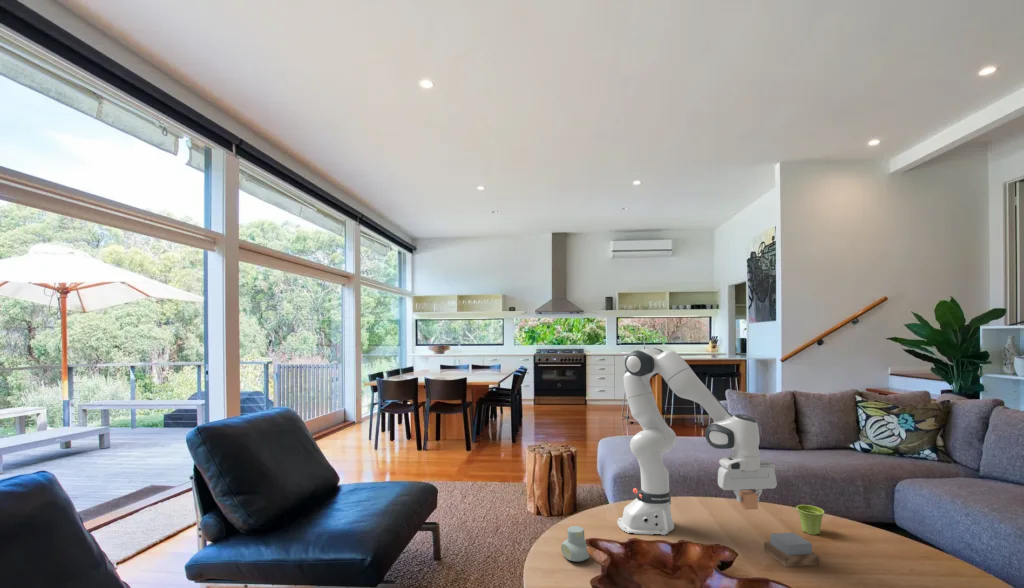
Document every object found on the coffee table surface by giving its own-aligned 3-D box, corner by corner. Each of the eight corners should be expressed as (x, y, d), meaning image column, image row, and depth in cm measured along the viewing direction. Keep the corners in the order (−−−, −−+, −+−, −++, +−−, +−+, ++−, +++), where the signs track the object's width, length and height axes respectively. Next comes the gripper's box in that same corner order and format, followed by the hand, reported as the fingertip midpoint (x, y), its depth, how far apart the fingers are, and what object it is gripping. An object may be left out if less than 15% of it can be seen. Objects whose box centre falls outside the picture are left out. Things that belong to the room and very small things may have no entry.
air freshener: (558, 553, 176) (558, 525, 177) (578, 549, 179) (577, 521, 180) (574, 567, 166) (573, 537, 167) (594, 562, 169) (594, 532, 170)
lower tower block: (785, 568, 165) (785, 557, 165) (764, 552, 177) (764, 542, 177) (819, 566, 166) (818, 556, 166) (796, 550, 178) (795, 540, 178)
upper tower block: (788, 555, 167) (787, 545, 167) (770, 544, 175) (770, 534, 176) (812, 553, 168) (811, 543, 168) (793, 542, 177) (792, 532, 177)
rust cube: (745, 509, 171) (745, 495, 171) (738, 504, 176) (738, 490, 176) (757, 509, 171) (757, 494, 172) (750, 504, 176) (750, 490, 176)
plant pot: (823, 529, 194) (822, 506, 195) (827, 538, 186) (826, 515, 186) (796, 525, 198) (795, 503, 199) (798, 534, 190) (797, 511, 190)
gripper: (769, 458, 178) (770, 497, 178) (714, 460, 177) (716, 499, 176) (779, 463, 172) (781, 503, 171) (723, 465, 171) (725, 505, 170)
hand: (747, 501), depth 174 cm, fingers closed on rust cube, 4 cm apart
